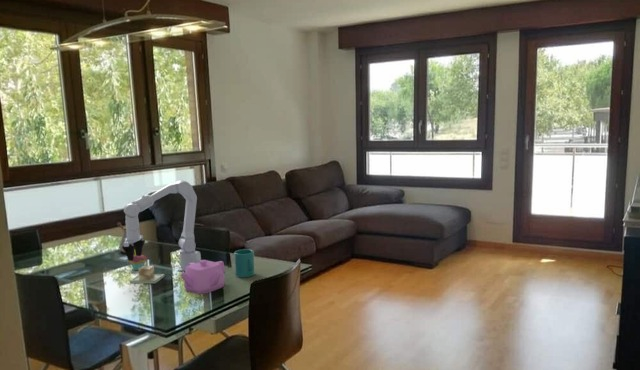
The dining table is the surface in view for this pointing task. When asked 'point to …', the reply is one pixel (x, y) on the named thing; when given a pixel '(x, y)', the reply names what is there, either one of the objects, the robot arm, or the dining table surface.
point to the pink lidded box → (204, 276)
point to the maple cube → (146, 272)
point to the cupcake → (138, 261)
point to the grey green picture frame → (152, 280)
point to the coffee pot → (123, 238)
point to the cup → (244, 263)
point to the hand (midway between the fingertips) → (134, 258)
